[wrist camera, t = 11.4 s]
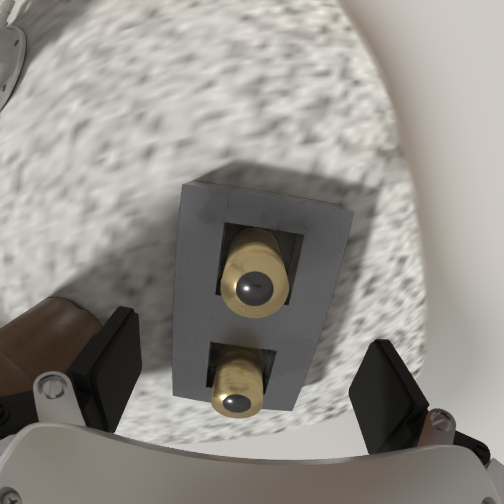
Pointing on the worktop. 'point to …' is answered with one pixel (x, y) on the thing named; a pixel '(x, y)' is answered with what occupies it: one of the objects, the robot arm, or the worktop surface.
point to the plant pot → (42, 342)
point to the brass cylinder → (254, 275)
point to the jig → (243, 328)
